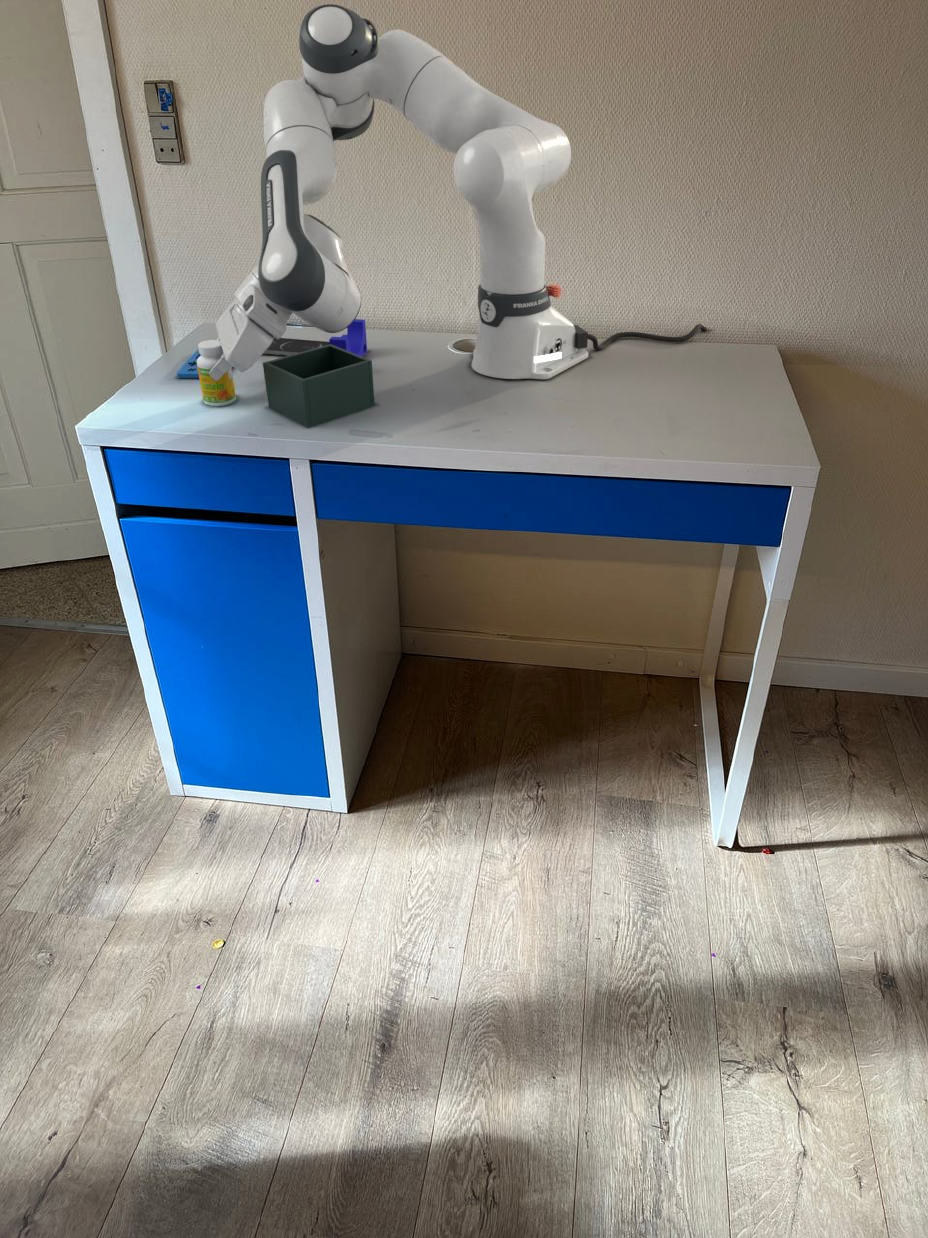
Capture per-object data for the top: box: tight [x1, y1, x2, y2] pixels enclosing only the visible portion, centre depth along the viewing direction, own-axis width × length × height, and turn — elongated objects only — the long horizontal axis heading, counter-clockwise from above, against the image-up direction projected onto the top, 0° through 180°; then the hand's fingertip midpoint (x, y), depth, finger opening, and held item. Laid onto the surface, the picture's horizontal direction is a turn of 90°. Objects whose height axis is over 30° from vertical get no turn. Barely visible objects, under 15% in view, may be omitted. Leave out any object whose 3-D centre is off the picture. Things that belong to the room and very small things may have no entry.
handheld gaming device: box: [176, 348, 201, 379], centre depth 171 cm, size 8×1×15 cm
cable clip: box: [328, 318, 368, 357], centre depth 171 cm, size 12×4×6 cm, turn 169°
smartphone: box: [263, 337, 330, 356], centre depth 177 cm, size 8×1×15 cm
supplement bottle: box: [197, 339, 237, 407], centre depth 154 cm, size 5×5×10 cm
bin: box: [262, 344, 376, 428], centre depth 152 cm, size 13×11×8 cm
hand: (210, 370), depth 154 cm, fingers closed on supplement bottle, 5 cm apart
